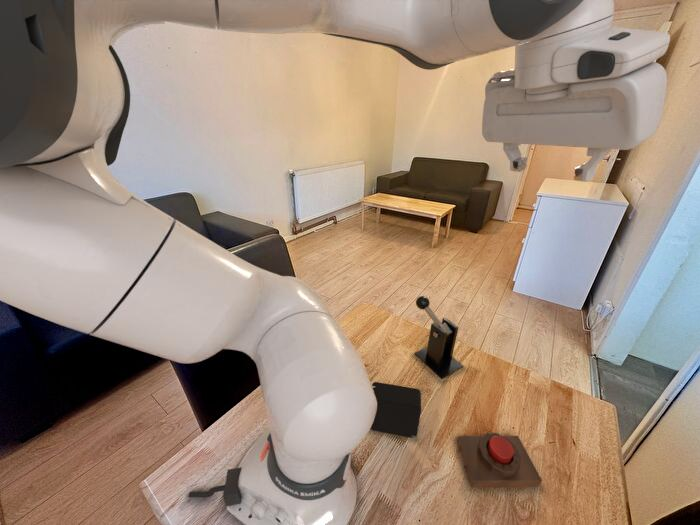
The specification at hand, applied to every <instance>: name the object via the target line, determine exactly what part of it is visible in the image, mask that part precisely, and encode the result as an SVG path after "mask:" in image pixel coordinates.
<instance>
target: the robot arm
mask: <svg viewBox="0 0 700 525" xmlns="http://www.w3.org/2000/svg"><path fill="white" fill-rule="evenodd" d="M614 14H615V2H614V0H0V302H2V303H5V304H7V305H10V306H12V307H15V308H17V309H18V310H21V311H23V312H26V313H28V314H31V315H33V316H35V317H38V318H41V319H44V320H47V321H49V322H52V323H54V324H57V325H59V326H62V327H64V328H68V329H71V330H73V331H77V332H80V333H83V334H85V335H89V336H93V337H95V338H98V339H101V340H105V341H107V342H108V341H109V342H112V343H115V344H118V345H121V346H124V347H128V348H131V349H133V350H137V351H140V352H143V353H147V354H148V355H153V356H157V357H160V358H162V359H165V360H168V361H172V362H176V363H179V364H195V363H199V362H202V361H205V360H207V359H209V358H211V357H213V356H214V355H216V354H217V353H219V352H221V351H222V350H231V351H238V352H242V353H244V354H245V355H247V356H248V357H250V359H251V360H252V361H253V362H254V363H255V365H256V368H257V374H258V378H259V383H260V389H261V394H262V398H263V404H264V408H265V413H266V419H267V423H268V428H267V429H266V430H265V431H263V433H262V434H261V435H260V436H259V437H258V438H257V440H256V441H255V442H254V443H253V444H252V445H251V447H250V448H249V449H248V451H246V453H245V454H244V456H243V458H242V459H241V461H240V463H239V465H238V467H234V468H231V469H227V472H226V476H225V482H224V484H223V485H218V486H213V487H211V488H209V490H208V491H189V493H188V498H209V497H212V496H214V494H215V493H218V492H223V494H222V499H223V501H224V504H225V506H226V510H227V511H228V513H230V514H231V515H232V516H233V517H235V518H236V519H237V520H238V521H240V522H241V523H242V524H243V525H348V523H349V521H350V520H351V518H352V516H353V513H354V511H355V508H356V503H357V499H358V486H357V480H356V476H355V473H354V470H353V468H352V467H351V463H352V452H353V451H354V450H355V449H356V448H358V447H359V445H360V444H361V443H363V441H364V440H365V438H366V436H367V435H368V434H369V432H370V428H371V426H372V424H373V421H374V419H375V415H376V411H377V400H376V397H375V394H374V391H373V388H372V382H371V380H370V376H369V373H368V371H367V368H366V366H365V364H364V360H363V359H362V357H361V355H360V353H359V352H358V351H357V349H356V348H355V346H354V344H353V342H351V339H350V338H349V336H348V335H347V334H346V332H345V331H344V329H343V327H342V325H341V324H340V323H339V322H338V320H337V319H336V317H335V315H334V314H333V312H332V311H331V309H330V308H329V305H327V303H326V301H325V300H324V298H323V297H322V296H321V295H320V294H319V293H318V292H317V291H316V290H315V289H314V288H313V287H312V286H311V285H309V284H308V283H307V282H305V281H304V280H303V279H300V278H298V277H295V276H291V275H280V274H278V273H275V272H271V271H270V270H266V269H264V268H261V267H259V266H256V265H254V264H252V263H250V262H248V261H246V260H245V259H242V258H241V257H239V256H237V255H236V254H234V253H232V252H231V251H229V250H227V249H226V248H224V247H222V246H220V245H219V244H217V243H216V242H214V241H213V240H211V239H209V238H208V237H206V236H204V235H203V234H200V233H199V232H197V231H195V229H192V228H191V227H189V226H188V225H186V224H184V223H182V222H181V221H179V220H177V219H176V218H174V217H172V216H171V215H169V214H167V213H166V212H164V211H162V210H160V209H159V208H157V207H155V206H154V205H152V204H150V203H148V202H147V201H146V200H144V199H142V198H141V197H139V196H138V195H137V194H135V193H133V192H132V191H131V190H129V189H128V188H127V187H126V186H124V185H123V184H122V183H121V182H120V181H119V180H118V179H117V178H116V177H115V175H113V173H112V171H111V169H110V168H109V166H111V165H113V164H114V162H116V160H117V157H118V153H119V149H120V146H121V141H122V137H123V134H124V132H125V128H126V125H127V123H128V122H127V121H128V118H129V114H130V109H131V88H130V82H129V78H128V75H127V72H126V70H125V67H124V65H123V62H122V61H121V58H120V57H119V55H118V53H117V51H116V49H115V48H114V47H113V46H114V45H115V43H116V42H117V41H118V40H119V39H120V38H121V37H122V36H123V35H125V34H127V33H128V32H130V31H132V30H134V29H138V28H140V27H144V26H150V25H165V22H166V23H172V24H178V25H182V26H189V27H195V28H201V29H202V28H203V29H210V30H216V29H217V30H218V31H223V32H224V31H226V32H233V33H246V34H247V33H250V34H270V35H272V34H323V35H326V36H332V37H335V38H341V39H347V40H351V41H352V40H353V41H357V42H363V43H367V44H373V45H378V46H383V47H387V48H388V49H391V50H393V51H394V52H397V53H398V54H400V55H401V56H402V57H403V58H405V59H406V60H407V61H408V62H410V64H412V65H414V66H415V67H417V68H419V69H422V70H428V71H430V70H431V71H433V70H437V69H441V68H443V67H446V66H448V65H451V64H454V63H456V62H459V61H463V60H467V59H471V58H476V57H479V56H482V55H487V54H490V53H494V52H497V51H501V50H504V49H508V48H512V47H514V68H513V69H509V70H506V71H503V70H501V71H497V72H495V73H493V75H492V76H491V77H490V78H489V79H488V81H487V83H485V88H484V94H485V95H484V97H485V98H484V101H483V102H484V103H483V109H482V120H481V121H482V122H481V135H482V137H483V138H484V141H486V143H498V144H499V143H500V144H501V143H502V150H503V151H504V153H505V155H506V158H507V159H508V161H509V170H510V171H511V172H516V173H521V172H522V171H525V170H526V168H527V167H528V166H527V161H528V157H527V156H523V154H522V152H521V150H520V148H519V146H521V145H533V146H534V145H536V146H551V147H552V146H554V147H570V148H585V149H586V157H590V158H589V160H588V161H587V162H584V163H582V164H581V165H578V166H577V167H575V169H574V176H573V181H577V182H584V183H588V182H590V181H591V180H593V179H594V178H595V177H596V173H597V167H598V165H599V164H600V163H601V162H602V161H603V160H604V159H605V158H606V157H607V156H608V155H609V153H610V152H611V151H612V150H619V151H620V150H621V151H629V150H632V149H633V148H635V147H637V146H639V145H641V144H643V143H644V142H646V141H647V140H648V139H650V138H651V137H653V136H654V135H655V133H657V131H658V130H659V127H660V124H661V120H662V116H663V113H664V107H665V101H666V97H667V86H668V76H667V71H666V68H665V67H664V66H663V65H662V64H660V63H658V62H657V60H658V59H659V58H661V57H663V56H664V55H665V54H666V53H667V51H668V49H669V46H670V43H671V36H670V34H669V33H668V32H665V31H661V30H659V31H658V30H646V29H637V28H629V27H621V26H614V25H613V21H614V17H615V15H614ZM655 61H656V62H655Z"/></svg>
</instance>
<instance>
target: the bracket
mask: <svg viewBox="0 0 700 525" xmlns="http://www.w3.org/2000/svg"><path fill="white" fill-rule="evenodd" d="M441 323H442V324H444V323H446V324H447V325H448V327H449V328H450V329H451V331H452V333H451V334H450V335H449V336H448V337H446V336H447V332H446V331H445V330H443V329H442V328H441V327H439V326H438V325H437V324H435V323H434V322H432V323H430V329H429V336H428V342H427V346H426V347H424V348H422V349H420V350H418V351H416V352H414V356H416V357H417V358H418V359H419V360H420V361H421V363H423V364H424V365H425V366H426V367H428V368H429V369H430V370H431V371H432V372H433V373H434V374H435V375H436V376H437V377H438V378H439V379H440V380H443V379H445V378H447V377H449V376H450V375H452V374H453V373H456V372H457V371H459V370H461V369H462V368H464V365H463V364H461V362H460V361H458V360H457V359H456V358H454V357H453V355H454V349H455V346H456V342H457V341H456V340H457V336H458V332H459V329H460V328H459V325H457V324H455V323H454V322H452V321H451V320H450V319H449V318H446V317H443V318H442V320H441Z"/></svg>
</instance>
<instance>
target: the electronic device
mask: <svg viewBox="0 0 700 525" xmlns="http://www.w3.org/2000/svg"><path fill="white" fill-rule="evenodd" d="M371 385H372V388H373V391H374V394H375V397H376V400H377V411H376V415H375V419H374V421H373V424H372V426H371V428H370V430H371V431H375V432H378V433H383V434H389V435H396V436H400V437H404V438H410V439H413V437H417V436H418V431H419V427H420V426H419V425H420V419H421V413H422V391H421V390H420V389H418V388H415V387H409V386H404V385H403V386H402V385H398V384H391V383H384V382H379V381H374V382H372V383H371ZM370 430H369V431H370Z"/></svg>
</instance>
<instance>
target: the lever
mask: <svg viewBox="0 0 700 525" xmlns="http://www.w3.org/2000/svg"><path fill="white" fill-rule="evenodd" d="M430 303H431V302H430V299H429V298H428V297H427V296H425V295H419V296H418V297H417V298H416V300H415V305H416V307H417V308H418V309H419V310H424V312H426V314H427V315H428V316H429V318H430V319H431V320H432V323H435V324H437V325H438V326H439V327H441V328H442V329H443V330H445V331H446V332H447V336H446V337H448V336H449V335H450V334H451V333H452V331H451V329H450V328H449V327H448V325H447V324H446V323H444V324H442V321H441V320H440V319H439V318H438V316H437V315H436V314H435V312H434V311H433V310H432V308H431V307H430Z"/></svg>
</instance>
